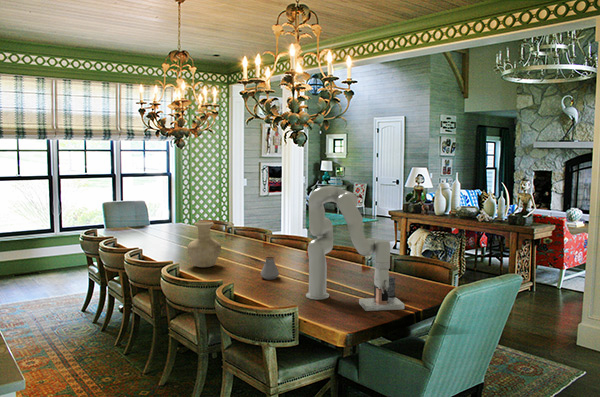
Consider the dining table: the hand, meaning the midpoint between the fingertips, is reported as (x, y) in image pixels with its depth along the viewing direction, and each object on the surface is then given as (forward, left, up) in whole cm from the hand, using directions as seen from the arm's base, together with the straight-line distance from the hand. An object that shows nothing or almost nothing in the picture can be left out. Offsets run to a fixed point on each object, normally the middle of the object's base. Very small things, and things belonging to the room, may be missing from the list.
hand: (381, 298), depth 249 cm
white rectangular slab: (0, 0, -4) cm, 4 cm away
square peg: (0, 0, -4) cm, 4 cm away
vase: (-100, -92, -4) cm, 136 cm away
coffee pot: (-61, -55, -5) cm, 82 cm away
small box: (-16, +7, -5) cm, 18 cm away
